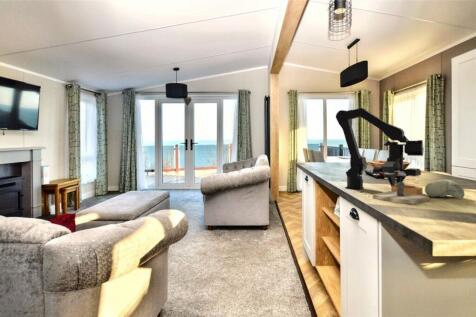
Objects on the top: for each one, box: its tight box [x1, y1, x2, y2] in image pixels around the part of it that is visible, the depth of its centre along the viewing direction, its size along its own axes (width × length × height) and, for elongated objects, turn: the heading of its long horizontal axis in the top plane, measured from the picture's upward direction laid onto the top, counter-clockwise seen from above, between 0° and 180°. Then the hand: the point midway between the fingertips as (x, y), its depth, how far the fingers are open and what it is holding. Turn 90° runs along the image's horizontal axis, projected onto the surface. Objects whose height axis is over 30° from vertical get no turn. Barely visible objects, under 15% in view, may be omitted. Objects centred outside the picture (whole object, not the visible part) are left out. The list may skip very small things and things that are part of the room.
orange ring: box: [390, 184, 424, 196], centre depth 123 cm, size 11×11×3 cm
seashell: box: [424, 179, 465, 200], centre depth 114 cm, size 13×8×10 cm
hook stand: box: [372, 181, 430, 206], centre depth 112 cm, size 15×13×7 cm
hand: (395, 189), depth 127 cm, fingers closed
